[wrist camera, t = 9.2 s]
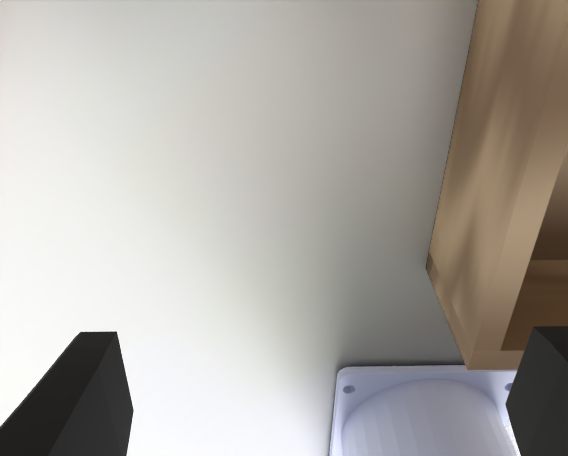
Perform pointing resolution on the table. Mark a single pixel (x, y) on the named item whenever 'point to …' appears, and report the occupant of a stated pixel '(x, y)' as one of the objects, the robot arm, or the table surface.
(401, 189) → the table surface
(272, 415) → the table surface
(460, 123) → the wooden tray
